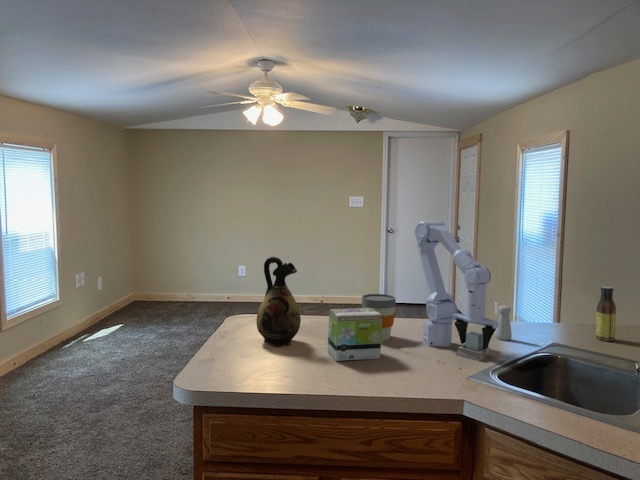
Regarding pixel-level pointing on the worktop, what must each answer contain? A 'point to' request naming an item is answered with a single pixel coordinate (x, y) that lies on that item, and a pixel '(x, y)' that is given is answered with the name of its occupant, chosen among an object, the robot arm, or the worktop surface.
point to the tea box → (354, 334)
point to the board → (476, 353)
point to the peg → (474, 341)
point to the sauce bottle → (606, 315)
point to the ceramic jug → (278, 307)
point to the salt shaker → (504, 324)
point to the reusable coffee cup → (382, 310)
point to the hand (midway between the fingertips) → (474, 345)
